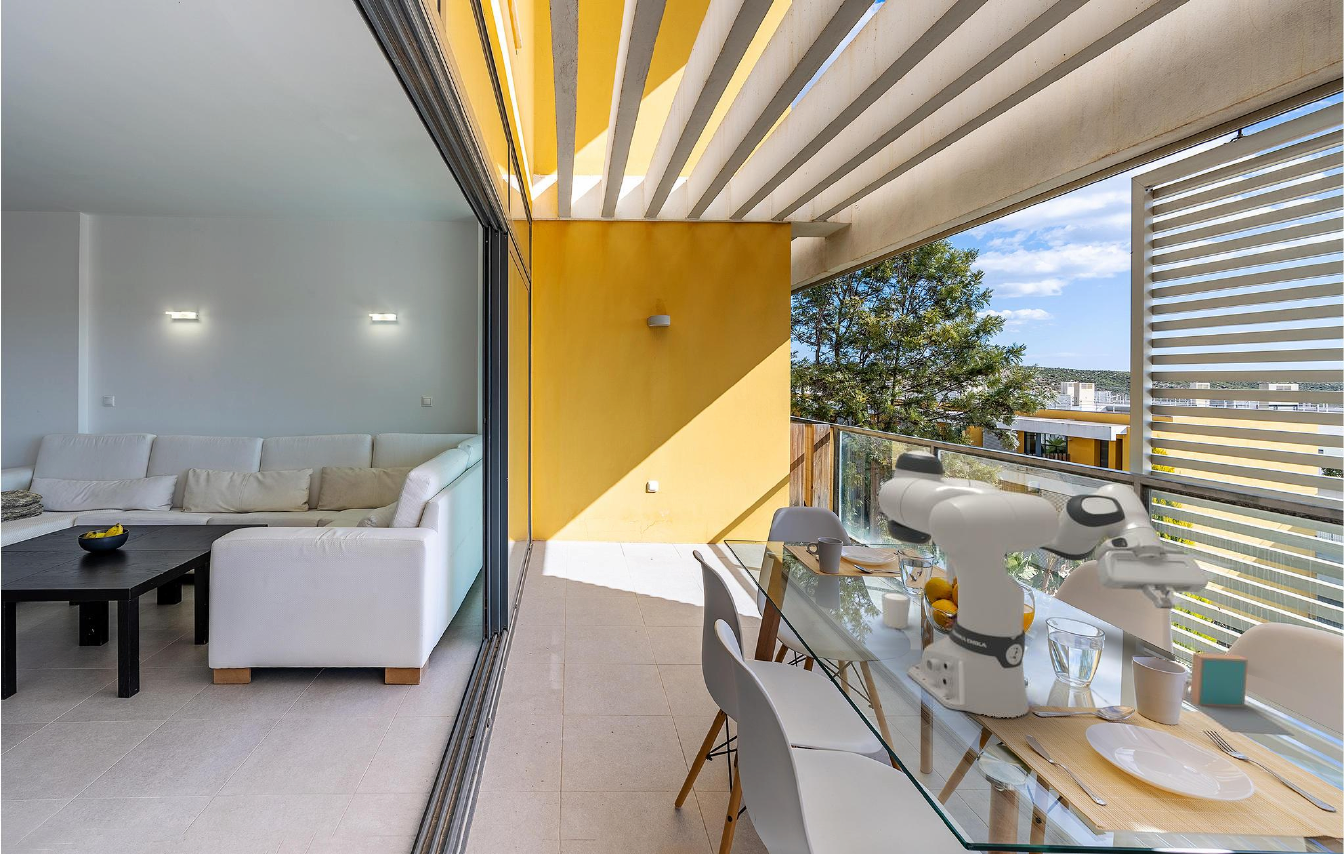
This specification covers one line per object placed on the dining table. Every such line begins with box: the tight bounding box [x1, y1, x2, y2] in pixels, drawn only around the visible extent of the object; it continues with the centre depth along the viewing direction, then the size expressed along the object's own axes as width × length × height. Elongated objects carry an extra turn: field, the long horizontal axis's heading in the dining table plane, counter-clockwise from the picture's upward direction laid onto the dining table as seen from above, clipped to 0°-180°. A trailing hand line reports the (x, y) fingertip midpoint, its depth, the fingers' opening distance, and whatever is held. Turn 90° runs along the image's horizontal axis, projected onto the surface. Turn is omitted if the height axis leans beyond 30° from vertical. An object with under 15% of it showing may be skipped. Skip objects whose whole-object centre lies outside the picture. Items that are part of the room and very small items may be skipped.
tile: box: [1190, 652, 1249, 707], centre depth 121 cm, size 2×8×9 cm, turn 85°
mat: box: [1183, 692, 1294, 736], centre depth 118 cm, size 14×10×1 cm
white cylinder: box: [881, 592, 912, 629], centre depth 161 cm, size 7×7×7 cm
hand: (1165, 607), depth 136 cm, fingers closed
